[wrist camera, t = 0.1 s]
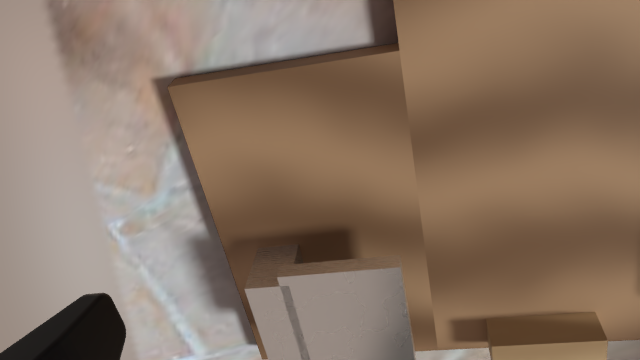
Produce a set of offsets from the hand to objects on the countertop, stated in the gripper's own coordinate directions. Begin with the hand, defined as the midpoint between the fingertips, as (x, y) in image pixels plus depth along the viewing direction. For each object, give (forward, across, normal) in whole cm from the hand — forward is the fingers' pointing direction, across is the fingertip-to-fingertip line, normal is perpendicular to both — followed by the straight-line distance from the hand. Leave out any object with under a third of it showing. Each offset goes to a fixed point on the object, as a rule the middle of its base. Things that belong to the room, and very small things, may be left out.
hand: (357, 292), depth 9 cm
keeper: (+15, +4, +11) cm, 19 cm away
